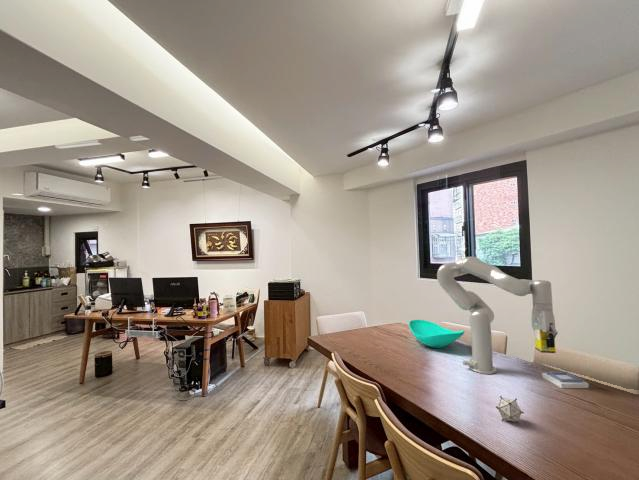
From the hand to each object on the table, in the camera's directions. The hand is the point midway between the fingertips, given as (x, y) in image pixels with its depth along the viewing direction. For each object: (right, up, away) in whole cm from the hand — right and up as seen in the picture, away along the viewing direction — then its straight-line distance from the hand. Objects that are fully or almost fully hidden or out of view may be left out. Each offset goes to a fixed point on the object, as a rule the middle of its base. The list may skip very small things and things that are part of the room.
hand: (544, 344), depth 142 cm
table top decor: (-30, -21, +57) cm, 67 cm away
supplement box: (0, -3, 0) cm, 3 cm away
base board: (+9, -18, 0) cm, 20 cm away
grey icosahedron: (-36, -17, -31) cm, 51 cm away
